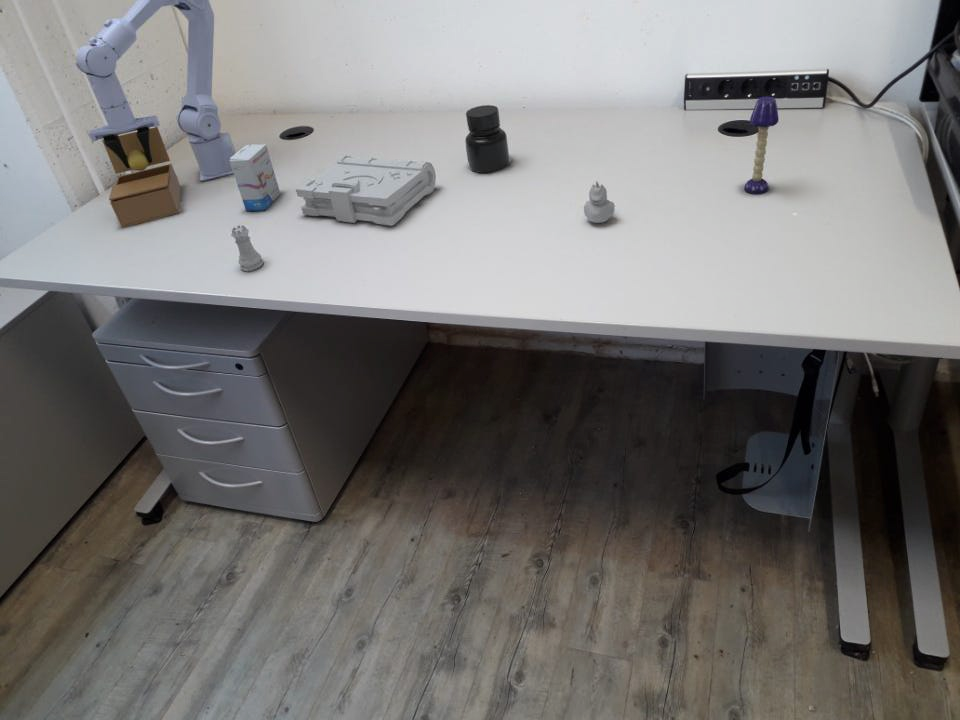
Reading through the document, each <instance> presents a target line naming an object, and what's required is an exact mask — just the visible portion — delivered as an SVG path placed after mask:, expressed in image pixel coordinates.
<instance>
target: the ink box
mask: <svg viewBox="0 0 960 720" xmlns="http://www.w3.org/2000/svg"><path fill="white" fill-rule="evenodd" d="M230 159H231V160H230V164H231V167H232V170H233V176H234V180H235V182H236V185H237V189H238V192H239V194H240V197H241V200H242V204H243V205H244V209H245V211H246V212H253V211H254V212H255V211H266V210H267V209H268V208H269V207H270V206H271V205H272V204H273V203H274V201H276V199H278V197H279V196H280V195H281V190H280V187H279V184H278V180H277V177H276V173H275V170H274V167H273V164H272V160H271V157H270V154H269V150H268V146H267V144H245V145H243V147H241V149H239V150H238V151H237V152H236V154H234V155H233V156H232V157H231V158H230Z"/></svg>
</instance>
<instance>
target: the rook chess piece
mask: <svg viewBox="0 0 960 720" xmlns="http://www.w3.org/2000/svg"><path fill="white" fill-rule="evenodd" d="M249 232H250V230H249V228H246V225H244V224H241V225H236V226H233V227H232V229H231V237H233V238H234V239H235V241H234V243H235V244H236V246H237V247H238V253H239V256H238V265H239V269H241V270H242V271H244V272H252V271H256V270H259V269H260V268H261V267H262V265H263V264H264V259H263V258H262V255H261V254H260V253H259V252H258V251H257V250H256V249H255V247H254V246H253V244H252V242H251V237H250V236H249Z"/></svg>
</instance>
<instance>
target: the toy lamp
mask: <svg viewBox="0 0 960 720" xmlns="http://www.w3.org/2000/svg"><path fill="white" fill-rule="evenodd" d="M779 120H780V119H779V112H778V105H777V100H776V98H775V97H772V96H762V97H759V98H758V99H757V100H756V102H755V105H754V107H753V110H752V113H751V115H750V119H749V123H750V124H751V125H752V126H754V127H757V129H758V131H757V135H756V136H757V140H756V148H755V151H754V152H755V153H754V155H755V157H754V161H753V162H754V164H753V168H752V170H753V173H752V178H750V179H749V180H747V181H746V182H745V184H744V187H743V190H744V191H745V192H746V193H748V194H752V195H761V194H765V193H767V192H768V191H769V189H770V187H769V184H768V181H767V180H766V179H764V178H763V171H764V163H765V160H766V157H765V155H766V153H767V149H766V147H767V145H768V142H767V139H768V137H769V132H768V131H769V129H770V128H771V127H774V126H776V125H777V124H778V123H779Z"/></svg>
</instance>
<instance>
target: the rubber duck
mask: <svg viewBox="0 0 960 720" xmlns="http://www.w3.org/2000/svg"><path fill="white" fill-rule="evenodd" d="M588 196H589V200H587V201H586V202H585V203H584V206H583V214H584V215H585V217H586V218H587V220H588V221H589V222H591V223H595V224H602V223H605V222H607V221H608V220H609V219H610V218H612V216H613V215H614V212H615V209H616V208H615V207H616V205H615V203H614V202H613V201H611V200H609V199H608V192H607V188H606V187H605V186H604V185H603V184H602V183H600V184H599V182H598V180H596V182H595V184H594V183H593V184H592V185H591V187H590V190H589V191H588Z"/></svg>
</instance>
